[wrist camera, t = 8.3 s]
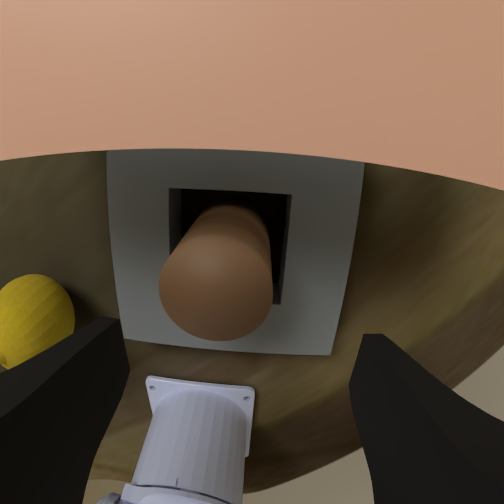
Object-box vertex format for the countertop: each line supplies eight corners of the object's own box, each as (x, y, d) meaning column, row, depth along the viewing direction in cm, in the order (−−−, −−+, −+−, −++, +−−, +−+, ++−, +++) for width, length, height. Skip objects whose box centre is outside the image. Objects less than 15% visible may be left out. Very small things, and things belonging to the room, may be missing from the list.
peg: (267, 267, 18) (269, 343, 12) (197, 265, 18) (164, 337, 12) (270, 197, 17) (276, 241, 10) (195, 196, 17) (153, 237, 10)
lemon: (90, 262, 18) (16, 331, 11) (97, 333, 20) (45, 410, 13) (28, 250, 18) (-48, 303, 11) (39, 316, 20) (-19, 379, 13)
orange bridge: (385, 156, 16) (510, 192, 6) (68, 144, 16) (-65, 173, 6) (391, 53, 13) (508, -3, 4) (74, 49, 14) (-50, 17, 4)
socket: (323, 330, 19) (330, 355, 17) (137, 316, 20) (124, 338, 17) (352, 132, 15) (367, 132, 13) (127, 122, 15) (107, 121, 13)
